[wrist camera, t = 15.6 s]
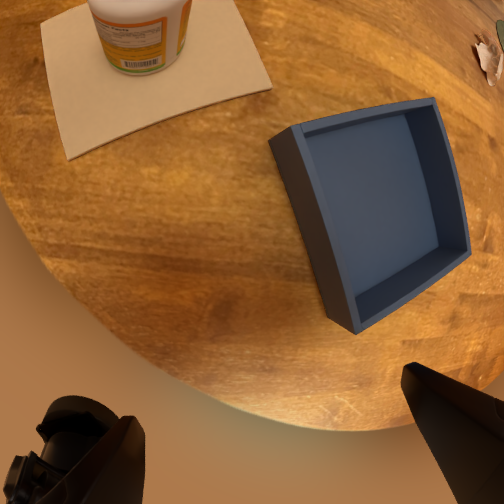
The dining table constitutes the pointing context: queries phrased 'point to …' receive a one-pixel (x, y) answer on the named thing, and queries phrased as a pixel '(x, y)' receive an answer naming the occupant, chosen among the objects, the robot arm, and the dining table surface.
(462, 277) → the dining table surface
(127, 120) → the mat
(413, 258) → the box
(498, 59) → the tissue
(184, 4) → the supplement bottle
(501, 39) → the frog figurine
